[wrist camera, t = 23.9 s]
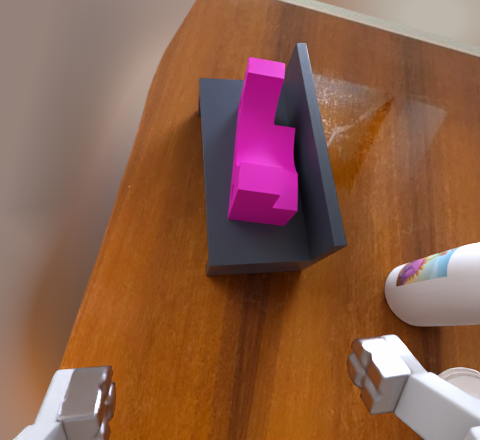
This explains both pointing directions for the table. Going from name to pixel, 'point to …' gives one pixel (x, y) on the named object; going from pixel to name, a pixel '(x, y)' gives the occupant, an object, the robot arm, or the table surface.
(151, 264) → the table surface
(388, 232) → the table surface
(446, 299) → the milk bottle
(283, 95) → the shelf
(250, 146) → the toy block
